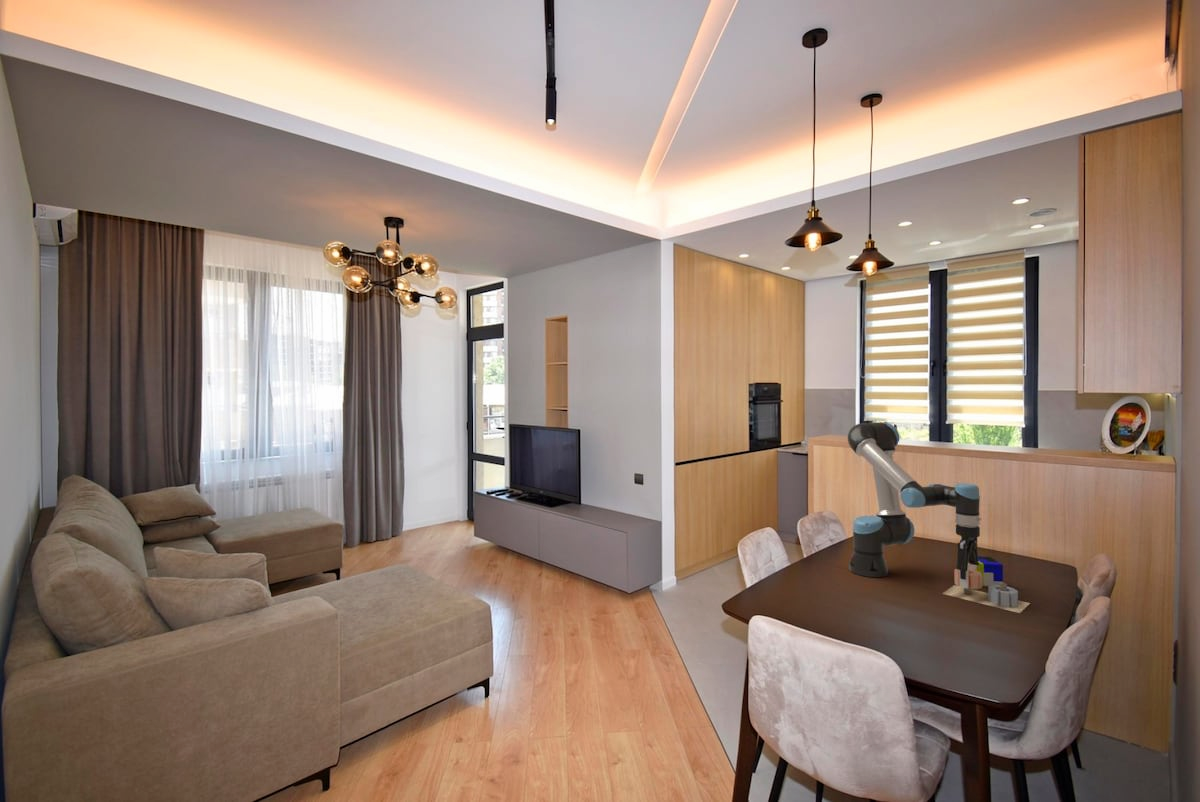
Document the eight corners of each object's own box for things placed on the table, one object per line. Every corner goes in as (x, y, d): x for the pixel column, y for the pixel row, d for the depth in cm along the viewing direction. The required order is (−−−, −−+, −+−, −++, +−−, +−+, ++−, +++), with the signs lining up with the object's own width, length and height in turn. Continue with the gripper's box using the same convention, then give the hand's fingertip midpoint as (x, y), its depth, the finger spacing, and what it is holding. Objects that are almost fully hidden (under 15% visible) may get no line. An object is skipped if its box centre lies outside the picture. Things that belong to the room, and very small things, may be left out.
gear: (990, 604, 194) (990, 591, 194) (986, 596, 201) (986, 583, 201) (1019, 608, 190) (1019, 594, 190) (1014, 600, 197) (1014, 587, 197)
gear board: (942, 596, 205) (942, 575, 205) (954, 588, 213) (954, 567, 213) (1019, 616, 186) (1019, 593, 186) (1029, 606, 195) (1029, 584, 194)
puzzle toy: (1002, 590, 211) (1002, 564, 210) (974, 588, 213) (974, 563, 212) (989, 581, 220) (989, 556, 220) (962, 579, 222) (962, 555, 222)
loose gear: (951, 584, 204) (951, 571, 204) (959, 579, 210) (959, 566, 210) (977, 590, 198) (977, 577, 198) (984, 585, 203) (984, 572, 203)
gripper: (969, 531, 194) (970, 594, 194) (988, 522, 207) (988, 580, 208) (946, 528, 200) (946, 588, 200) (965, 518, 213) (966, 575, 213)
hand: (968, 584), depth 204 cm, fingers closed on loose gear, 8 cm apart
